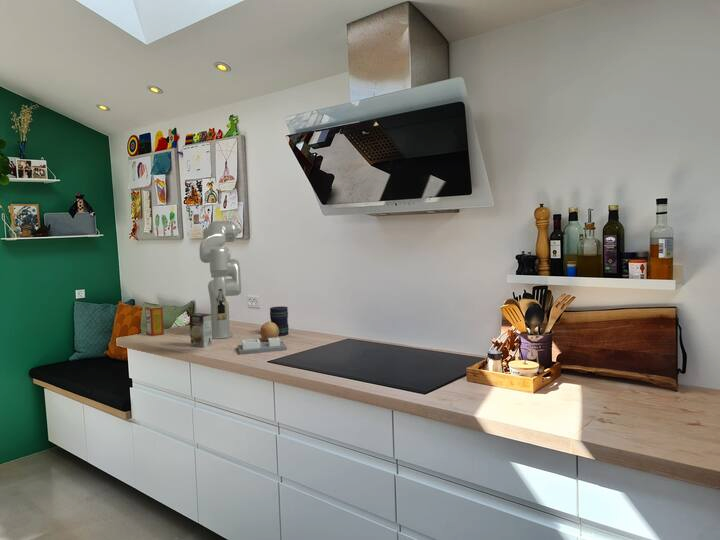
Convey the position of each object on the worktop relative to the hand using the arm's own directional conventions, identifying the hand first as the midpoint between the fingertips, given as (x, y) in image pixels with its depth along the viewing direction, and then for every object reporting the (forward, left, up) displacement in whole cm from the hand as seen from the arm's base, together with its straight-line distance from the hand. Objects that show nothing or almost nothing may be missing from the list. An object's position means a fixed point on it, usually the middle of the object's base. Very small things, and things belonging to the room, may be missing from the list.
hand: (221, 312), depth 238 cm
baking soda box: (-64, -36, -19) cm, 76 cm away
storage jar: (-32, +31, -19) cm, 49 cm away
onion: (-18, +24, -19) cm, 36 cm away
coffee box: (-20, -10, -19) cm, 30 cm away
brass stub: (0, 0, -3) cm, 3 cm away
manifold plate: (0, +18, -19) cm, 26 cm away
